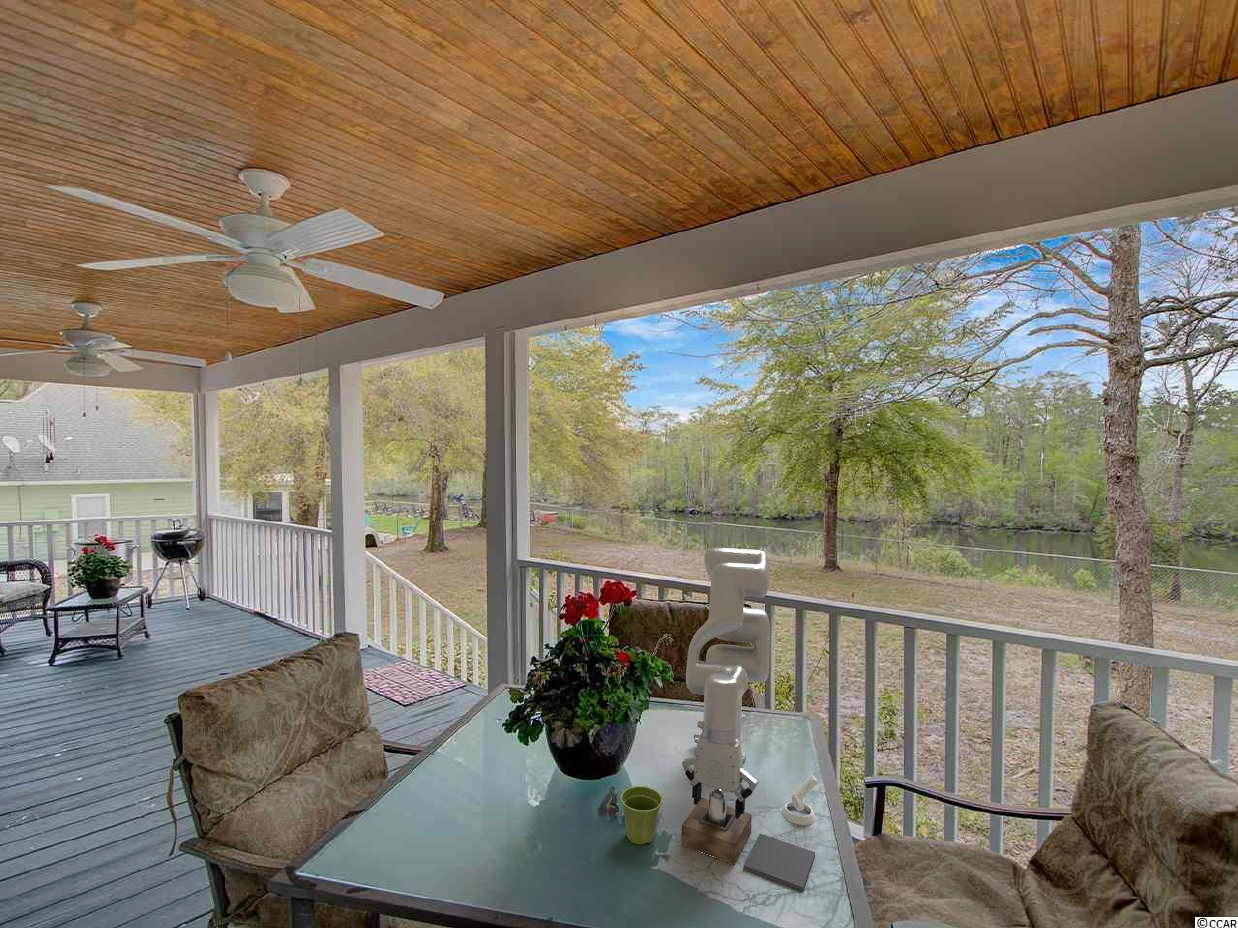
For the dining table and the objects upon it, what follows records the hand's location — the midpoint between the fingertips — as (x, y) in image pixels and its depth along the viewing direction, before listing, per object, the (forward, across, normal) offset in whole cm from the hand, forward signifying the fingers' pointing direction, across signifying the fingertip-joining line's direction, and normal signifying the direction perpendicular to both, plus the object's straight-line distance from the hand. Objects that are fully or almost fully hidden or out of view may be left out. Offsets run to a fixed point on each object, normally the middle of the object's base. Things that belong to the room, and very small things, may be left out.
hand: (717, 808), depth 130 cm
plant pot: (+7, -15, -8) cm, 18 cm away
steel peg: (+7, 0, 0) cm, 7 cm away
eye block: (+7, 0, 0) cm, 7 cm away
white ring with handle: (+7, +14, +19) cm, 25 cm away
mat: (+7, +14, 0) cm, 16 cm away
